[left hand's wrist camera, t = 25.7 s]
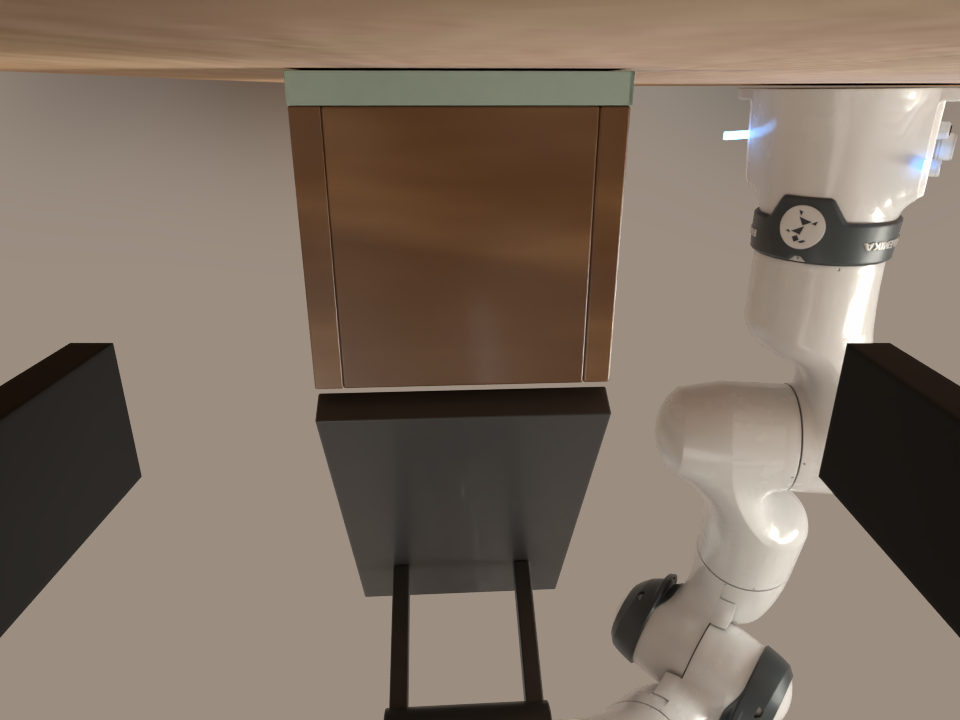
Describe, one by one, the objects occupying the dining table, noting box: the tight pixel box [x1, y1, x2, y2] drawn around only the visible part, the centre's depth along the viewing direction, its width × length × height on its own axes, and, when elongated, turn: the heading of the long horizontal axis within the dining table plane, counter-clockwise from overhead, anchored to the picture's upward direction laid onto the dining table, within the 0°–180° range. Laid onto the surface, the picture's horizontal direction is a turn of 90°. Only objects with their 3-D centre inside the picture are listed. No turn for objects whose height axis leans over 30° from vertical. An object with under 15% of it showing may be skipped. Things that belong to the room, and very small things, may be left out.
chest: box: [283, 70, 635, 389], centre depth 26 cm, size 15×9×9 cm, turn 177°
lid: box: [316, 387, 611, 720], centre depth 25 cm, size 15×9×9 cm
